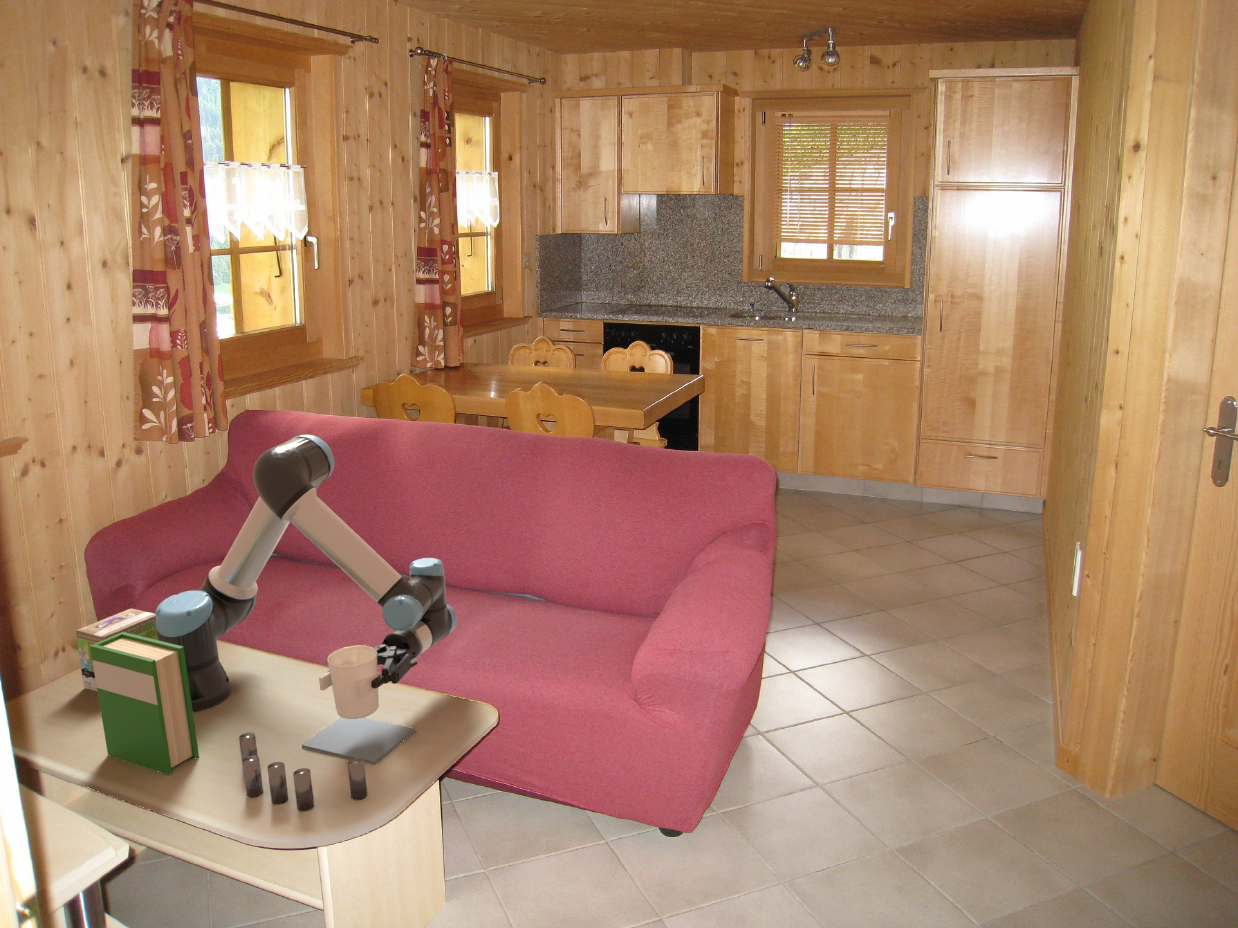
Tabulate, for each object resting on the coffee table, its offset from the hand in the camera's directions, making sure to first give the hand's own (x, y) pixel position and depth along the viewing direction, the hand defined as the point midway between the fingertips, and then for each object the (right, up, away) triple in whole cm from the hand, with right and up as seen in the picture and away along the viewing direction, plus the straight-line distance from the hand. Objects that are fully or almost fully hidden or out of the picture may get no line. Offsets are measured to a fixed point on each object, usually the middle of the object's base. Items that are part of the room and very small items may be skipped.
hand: (340, 687), depth 199 cm
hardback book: (-38, -15, +3) cm, 41 cm away
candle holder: (+2, -6, +6) cm, 9 cm away
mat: (+2, -12, +7) cm, 15 cm away
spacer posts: (-6, -17, -10) cm, 21 cm away
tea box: (-61, -7, +38) cm, 72 cm away
